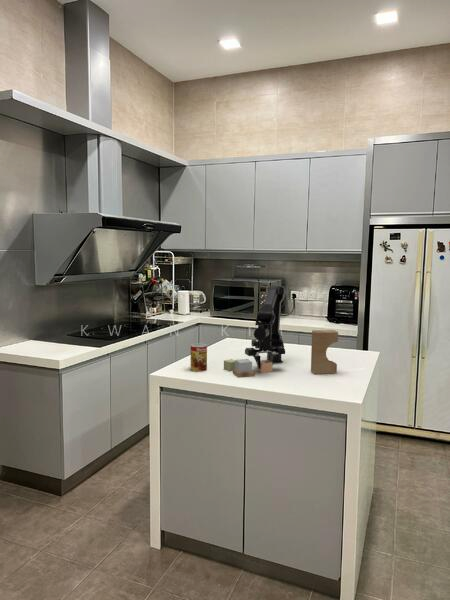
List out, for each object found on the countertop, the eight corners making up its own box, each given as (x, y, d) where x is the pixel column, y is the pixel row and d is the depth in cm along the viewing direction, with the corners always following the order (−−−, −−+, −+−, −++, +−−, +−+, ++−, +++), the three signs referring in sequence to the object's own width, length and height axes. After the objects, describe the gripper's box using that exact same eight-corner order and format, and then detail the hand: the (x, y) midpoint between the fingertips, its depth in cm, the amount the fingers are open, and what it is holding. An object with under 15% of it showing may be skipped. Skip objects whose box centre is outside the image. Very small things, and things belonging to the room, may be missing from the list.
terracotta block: (267, 369, 216) (267, 359, 215) (272, 371, 210) (272, 362, 210) (257, 369, 214) (257, 360, 213) (261, 372, 209) (261, 363, 208)
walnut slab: (248, 372, 210) (248, 367, 210) (254, 377, 202) (254, 372, 202) (232, 374, 208) (232, 368, 207) (238, 378, 200) (238, 373, 200)
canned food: (200, 372, 208) (200, 347, 206) (187, 370, 212) (187, 345, 210) (210, 369, 214) (210, 344, 213) (196, 366, 218) (196, 342, 217)
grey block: (247, 368, 208) (247, 358, 208) (251, 371, 203) (252, 362, 202) (235, 369, 207) (235, 359, 206) (239, 372, 201) (239, 362, 201)
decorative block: (332, 370, 214) (333, 329, 212) (337, 373, 208) (338, 331, 206) (310, 371, 212) (311, 330, 210) (314, 374, 207) (315, 332, 205)
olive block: (231, 368, 217) (231, 359, 217) (238, 370, 213) (238, 361, 213) (223, 369, 214) (223, 360, 213) (230, 371, 210) (230, 362, 210)
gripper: (276, 332, 221) (275, 363, 222) (241, 334, 215) (240, 365, 217) (286, 336, 210) (285, 369, 212) (249, 338, 205) (248, 371, 206)
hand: (264, 368), depth 212 cm, fingers closed on terracotta block, 5 cm apart
